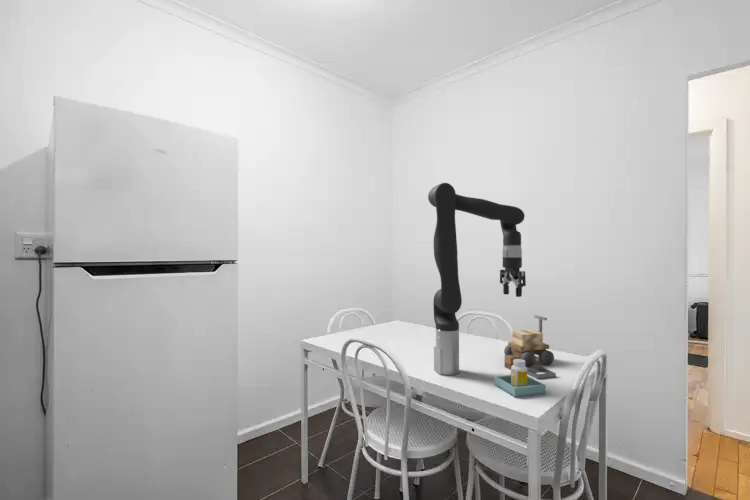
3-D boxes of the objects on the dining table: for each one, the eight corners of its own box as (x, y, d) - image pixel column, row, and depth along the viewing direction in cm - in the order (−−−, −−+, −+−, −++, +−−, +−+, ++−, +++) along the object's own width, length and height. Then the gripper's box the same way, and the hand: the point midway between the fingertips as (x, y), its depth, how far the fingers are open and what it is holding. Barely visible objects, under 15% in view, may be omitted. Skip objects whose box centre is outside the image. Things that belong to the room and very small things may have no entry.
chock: (510, 370, 153) (510, 357, 153) (504, 367, 157) (504, 355, 157) (521, 369, 154) (520, 356, 154) (514, 366, 158) (514, 354, 158)
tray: (514, 397, 125) (514, 388, 125) (494, 384, 136) (494, 376, 136) (545, 393, 128) (545, 384, 128) (523, 381, 139) (523, 373, 139)
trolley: (523, 367, 156) (523, 321, 156) (504, 358, 169) (504, 315, 169) (554, 364, 160) (553, 319, 159) (532, 355, 173) (532, 313, 173)
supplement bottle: (508, 387, 132) (508, 360, 132) (514, 383, 136) (514, 357, 136) (523, 391, 128) (523, 363, 128) (529, 387, 132) (529, 360, 132)
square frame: (537, 379, 142) (537, 375, 142) (523, 372, 150) (523, 368, 150) (555, 377, 144) (555, 373, 144) (541, 370, 152) (541, 366, 152)
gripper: (531, 256, 149) (531, 297, 149) (509, 256, 163) (509, 293, 163) (514, 256, 148) (514, 298, 148) (494, 256, 161) (494, 293, 161)
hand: (512, 295), depth 155 cm, fingers open, 8 cm apart
